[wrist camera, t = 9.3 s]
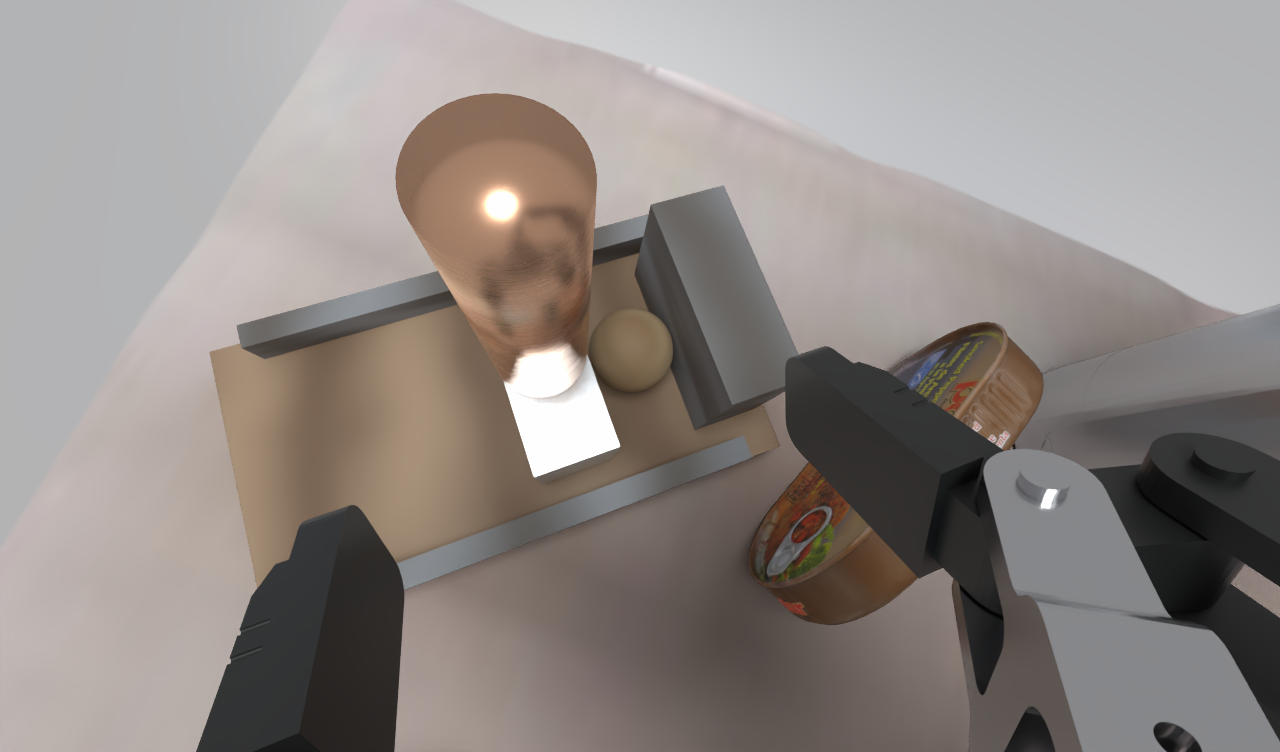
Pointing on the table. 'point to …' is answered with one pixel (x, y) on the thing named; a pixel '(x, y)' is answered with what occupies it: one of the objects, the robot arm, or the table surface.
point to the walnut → (631, 350)
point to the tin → (836, 534)
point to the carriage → (517, 260)
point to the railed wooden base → (495, 401)
